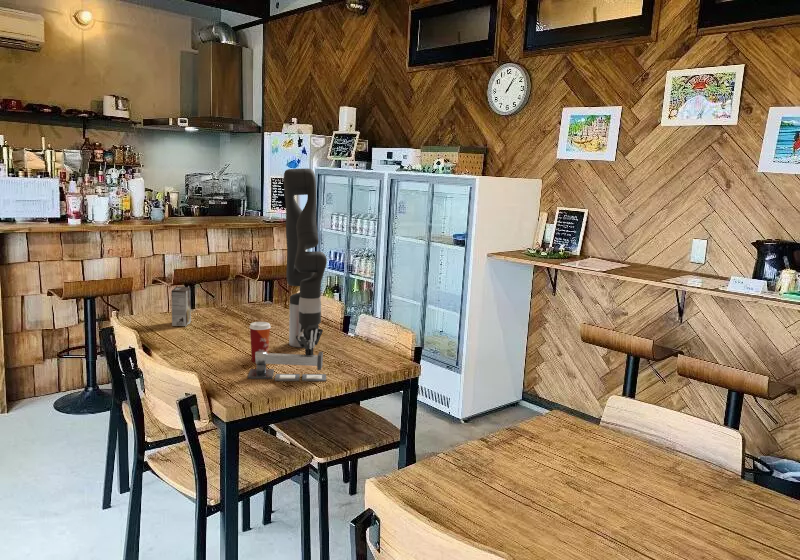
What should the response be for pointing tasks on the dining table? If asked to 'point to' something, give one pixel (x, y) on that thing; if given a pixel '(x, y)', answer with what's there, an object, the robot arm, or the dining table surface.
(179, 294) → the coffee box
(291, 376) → the label tile
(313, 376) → the label tile
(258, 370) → the pivot post
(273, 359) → the swing arm
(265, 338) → the paper cup
